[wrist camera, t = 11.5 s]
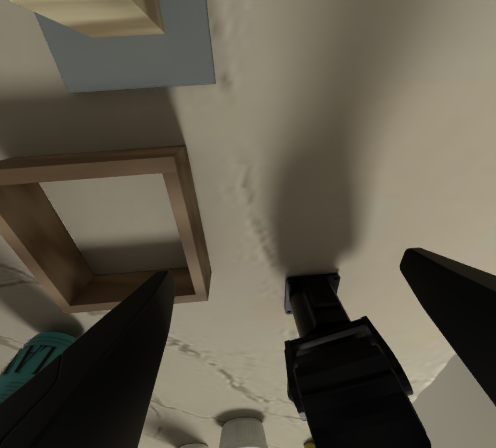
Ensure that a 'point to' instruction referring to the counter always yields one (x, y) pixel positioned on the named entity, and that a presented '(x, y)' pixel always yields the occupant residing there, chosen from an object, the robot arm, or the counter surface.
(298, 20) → the counter surface
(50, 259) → the box
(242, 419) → the ramekin
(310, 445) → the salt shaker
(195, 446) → the bottle
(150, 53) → the pad
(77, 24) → the maple block
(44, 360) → the beverage bottle
